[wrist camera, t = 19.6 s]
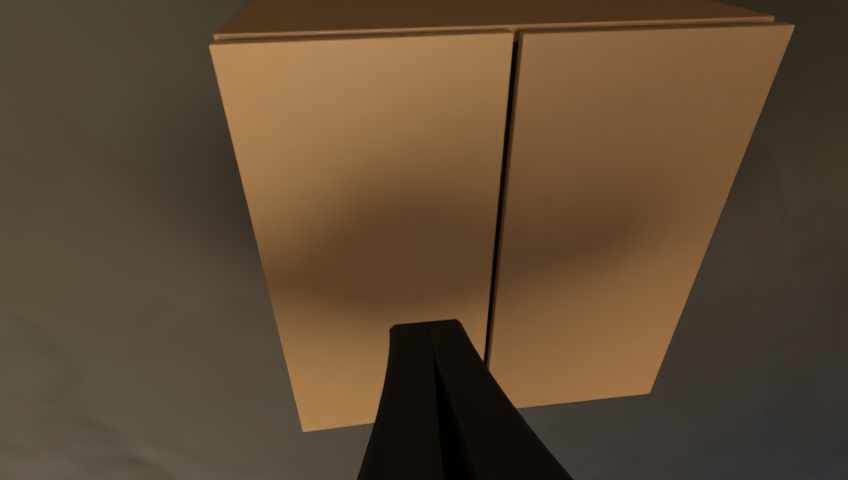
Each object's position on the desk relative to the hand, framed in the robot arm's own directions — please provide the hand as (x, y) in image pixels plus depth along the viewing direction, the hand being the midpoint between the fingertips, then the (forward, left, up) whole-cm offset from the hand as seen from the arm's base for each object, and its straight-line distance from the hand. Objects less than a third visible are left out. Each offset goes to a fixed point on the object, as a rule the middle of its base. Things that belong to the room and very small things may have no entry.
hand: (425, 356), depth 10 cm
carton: (-2, +1, -10) cm, 11 cm away
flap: (+1, +1, -4) cm, 4 cm away
